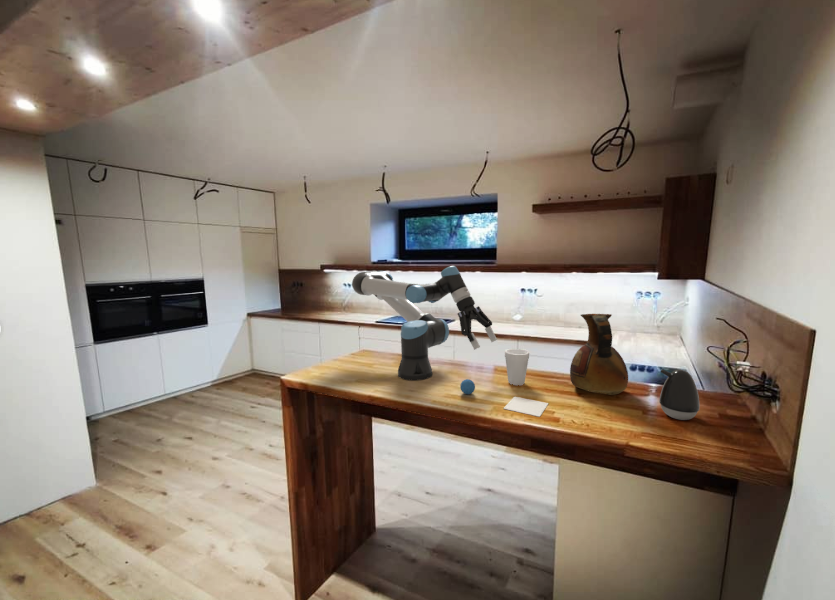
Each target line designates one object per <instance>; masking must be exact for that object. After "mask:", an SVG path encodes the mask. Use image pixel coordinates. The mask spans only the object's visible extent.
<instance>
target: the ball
mask: <svg viewBox="0 0 835 600" xmlns="http://www.w3.org/2000/svg"><path fill="white" fill-rule="evenodd" d="M475 390H476V384H475V382H474V381H473V380H472V379H468V378H467V379H463V380H462V381H461V383H460V391H461V392H462V393H463V394H465V395H471V394H473V393H474V391H475Z"/></svg>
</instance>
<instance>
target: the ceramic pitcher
mask: <svg viewBox="0 0 835 600" xmlns="http://www.w3.org/2000/svg"><path fill="white" fill-rule="evenodd" d="M612 315H613V314H612V313H611V314H610V313H586V314H585V313H583V314H580V316H581V317H582V318H583V319H584V321H585V323H586V325H587V329H588V336H587V337H588V338H587V341H586V343H585V344H584V345H582V346H581V347H580V348H579V349H578V350H577V351H576V353H575V354H574V356H573V357H572V360H571V363H570V367H569V375H570V377H569V378H570V382H571V384H572V385H573V386H574V387H576V388H579V389H581V390H584V391H587V392H589V393H590V392H591V393H597V394H602V395H603V394H604V395H610V396H613V395H618V394H620V393H623V392H624V391H625V390H626V389H627V387H628V384H629V371H628V368H627V365H626V363H625V360H624V358H623V357H622V355H621V354H620V353H619V351H618V350H616V348H614V347H613V346H612V344H613V332H612V327H611V323H610V320H609V319H610V318H611V317H612Z"/></svg>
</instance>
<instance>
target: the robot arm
mask: <svg viewBox="0 0 835 600" xmlns="http://www.w3.org/2000/svg"><path fill="white" fill-rule="evenodd" d="M440 275H441V278H440V279H439V280H437V281H435V282H432V283H430V282H429V283H425V284H424V283H422V284H420V283H419V284H418V283H412V282H404V281H403V282H402V281H397V280H396V281H395V280H394V278H393V276H392V275H391V273H390V272H387V271H385V270H377V271H360V272H359V273H357V274H355V276H354V277H353V278H352V282H351V286H352V289H353V291H354V292H355V293H357V294H358V295H360V296H361V295H362V296H372V295H374V296H375V297H376V299H378V300H379V301H382V300H383V301H384V302H385V303H386V304H388V305H389V306H390V308H392V309H393V310H394V311H396V312H397V314H398V315H400V317H402V318H403V320H405V321H406V322H404V323H403V324H402V325H401V327H400V345H401V346H400V347H401V349H400V351H401V358H400V362H399V366H398V370H397V376H398V378H400V379H402V380H406V381H423V380H428V379H429V378H432V376H433V368H432V366H431V362H430V359H429V349H430V348H432V347H435V346H439V345H441V344H443V343H445V342H446V341H447V340H448V338H449V337H450V330H449V327H450V326H449V325H448V323H447V322H446V320H444V319H442V318H436V317H435V316H433V315H432V314H431V313H428V312H427V313H425V312H424V311H422V310H421V308H419V307H418V306H417V305H416V304H421V303H424V302H427V303H431V304H434V303H437V302H439V301H440V300H441V299H442V298H444V297H446V296H447V295H449V294H450V295H451V298H452V299H453V301H454V304H455V303H456V304H455V305H456V308H457V309H458V311H459V312H458V313H457V317H458V319H459V325H460V330H461V334H462V335H463V336H464V337H466V336H467V339H468V341H469V343H470V344H471V347H472V348H473V351H474V350H477V349H480V348H481V345H480V344H479V341H478V340H477V338H476V335H475V334H474V332H472V321H473V320H474V321H476V322H478V323H479V324H480V325H481V326H483V327H484V331H485V332H486V334H487V336H488V337H489V341H490V342H491V343H493V342H495V341H498V339H497V337H496V334H495V333H494V331H493V328H492V325H493V321H492V320H491V319H490V318H489V317H488V316H487V315H486V314H485V313H484V312H483V310H482V309H481V307H480V306H476V307H475V304H476V302H475V300H474V299H473V297H472V296H471V293H470V291H469V289H468V286H467V285H466V283H465V280H464V279H463V277H462V274H461V273H460V271H459V269H458V268H457V266H456V265H451V266H450V265H449V266H447V267H445V268H444V269H443V270H442V271H441V272H440Z"/></svg>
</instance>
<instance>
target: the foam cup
mask: <svg viewBox="0 0 835 600" xmlns="http://www.w3.org/2000/svg"><path fill="white" fill-rule="evenodd" d="M504 358H505V366H506V374H507V381H508V384H509V383H510V385H512V384H513V386H518V385H519V386H523V384H524V385H525V382H526V377H527V376H526V375H527V369H528V365H529V360H530V351H529V350H526V349H521V348H508V349H505V350H504Z"/></svg>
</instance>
